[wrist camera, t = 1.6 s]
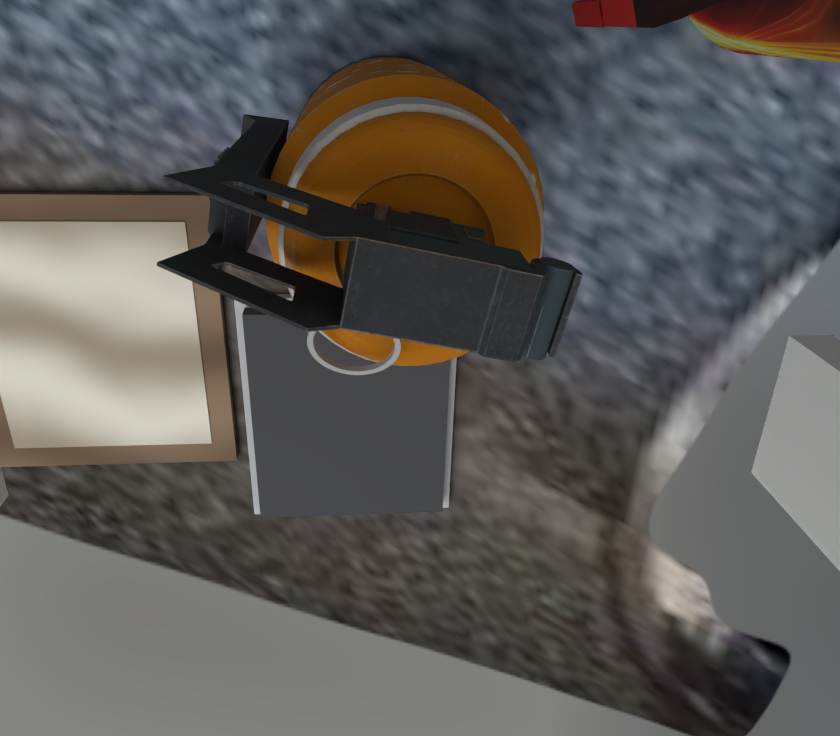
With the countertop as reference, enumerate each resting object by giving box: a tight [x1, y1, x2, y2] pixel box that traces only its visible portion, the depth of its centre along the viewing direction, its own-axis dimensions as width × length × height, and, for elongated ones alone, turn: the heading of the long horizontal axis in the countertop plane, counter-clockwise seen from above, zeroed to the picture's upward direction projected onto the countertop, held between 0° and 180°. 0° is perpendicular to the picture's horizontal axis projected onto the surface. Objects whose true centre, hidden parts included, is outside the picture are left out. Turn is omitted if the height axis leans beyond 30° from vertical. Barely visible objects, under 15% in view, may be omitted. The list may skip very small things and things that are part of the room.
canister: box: [157, 56, 583, 375], centre depth 25 cm, size 9×11×20 cm
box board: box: [0, 191, 238, 467], centre depth 36 cm, size 15×13×1 cm
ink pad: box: [234, 294, 457, 518], centre depth 39 cm, size 14×12×2 cm
